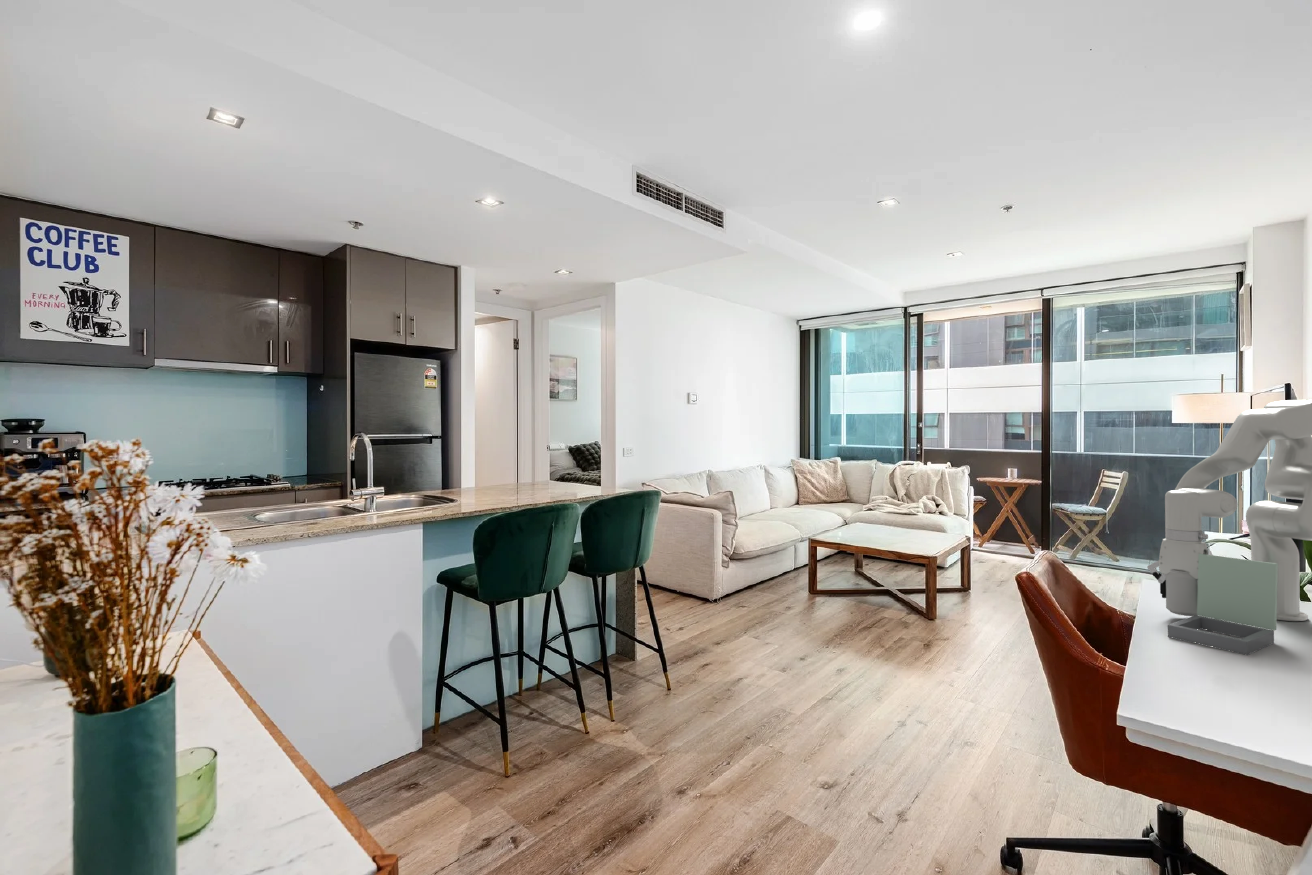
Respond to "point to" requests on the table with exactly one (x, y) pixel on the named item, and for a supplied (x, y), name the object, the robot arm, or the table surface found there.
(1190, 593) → the can
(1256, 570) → the plate
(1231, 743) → the table surface
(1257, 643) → the duct box
